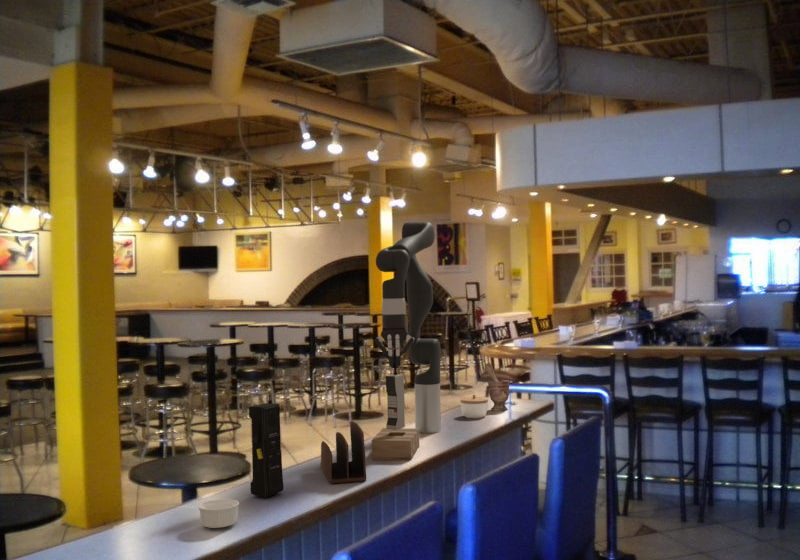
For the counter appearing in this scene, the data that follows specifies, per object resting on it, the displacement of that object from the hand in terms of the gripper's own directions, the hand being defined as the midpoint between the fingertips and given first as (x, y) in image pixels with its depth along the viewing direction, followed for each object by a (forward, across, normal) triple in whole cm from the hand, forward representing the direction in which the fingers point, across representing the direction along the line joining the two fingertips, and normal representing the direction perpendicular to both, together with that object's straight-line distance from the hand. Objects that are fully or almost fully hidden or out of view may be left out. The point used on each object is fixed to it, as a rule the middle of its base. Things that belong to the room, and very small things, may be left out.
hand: (395, 367), depth 245 cm
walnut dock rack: (+27, 0, 0) cm, 27 cm away
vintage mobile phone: (+19, 0, 0) cm, 19 cm away
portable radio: (+27, +26, +50) cm, 63 cm away
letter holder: (+27, +11, +28) cm, 41 cm away
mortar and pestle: (+27, -29, -81) cm, 90 cm away
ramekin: (+27, +29, +75) cm, 85 cm away
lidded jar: (+27, -21, -65) cm, 73 cm away
